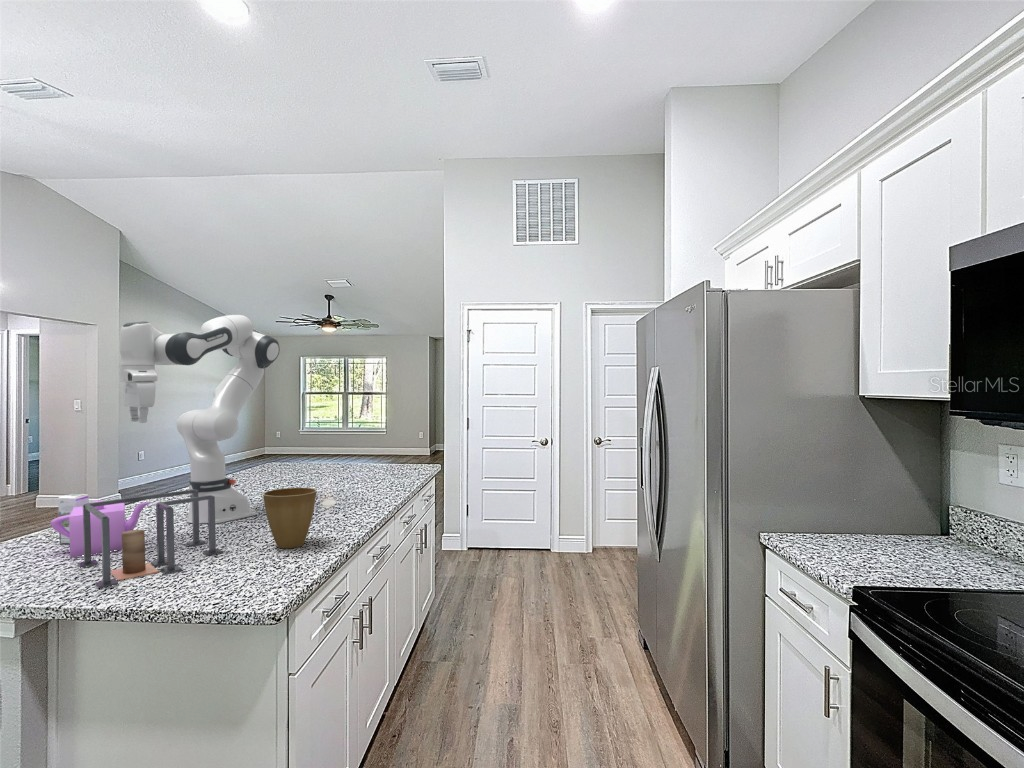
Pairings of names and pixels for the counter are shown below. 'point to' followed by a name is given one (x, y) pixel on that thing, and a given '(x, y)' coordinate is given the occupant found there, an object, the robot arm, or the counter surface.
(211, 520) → the dark grey bar frame
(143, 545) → the walnut cylinder
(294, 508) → the plant pot
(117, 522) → the teapot
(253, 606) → the counter surface
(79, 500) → the syrup box
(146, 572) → the tile
